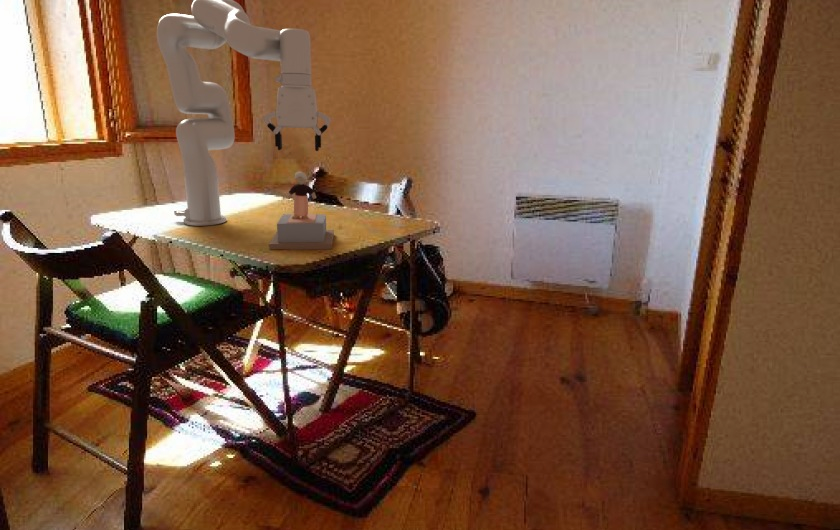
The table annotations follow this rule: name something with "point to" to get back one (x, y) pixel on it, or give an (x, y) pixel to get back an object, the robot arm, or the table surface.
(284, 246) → the plinth
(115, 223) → the table surface
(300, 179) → the grandmother figurine
